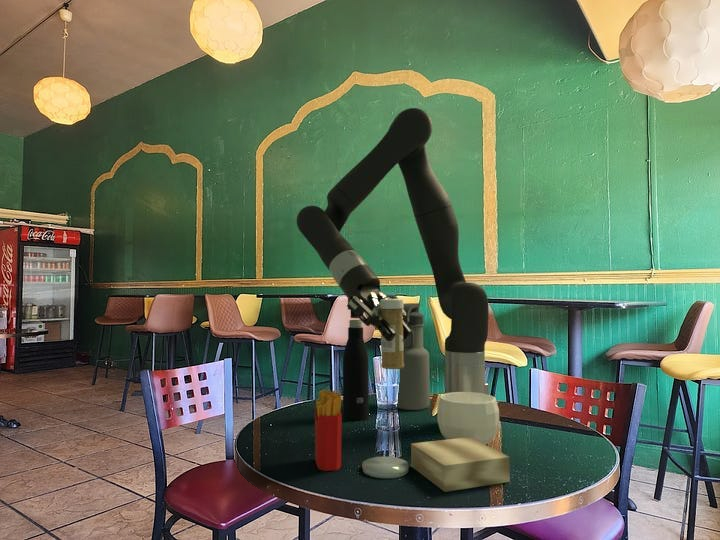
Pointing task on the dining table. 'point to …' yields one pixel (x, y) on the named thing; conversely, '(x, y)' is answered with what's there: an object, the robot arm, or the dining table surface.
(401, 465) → the pale grey dome
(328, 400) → the french fries
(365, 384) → the black bottle
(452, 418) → the cup
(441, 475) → the birch block
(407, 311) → the water bottle
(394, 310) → the sprinkles bottle
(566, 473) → the dining table surface
